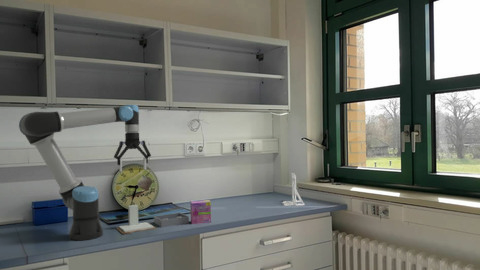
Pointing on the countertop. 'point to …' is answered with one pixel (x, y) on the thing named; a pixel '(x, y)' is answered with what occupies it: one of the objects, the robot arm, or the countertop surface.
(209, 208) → the box
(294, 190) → the film strip holder
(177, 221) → the tub
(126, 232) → the pad
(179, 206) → the countertop surface
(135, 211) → the white t-shaped stand
